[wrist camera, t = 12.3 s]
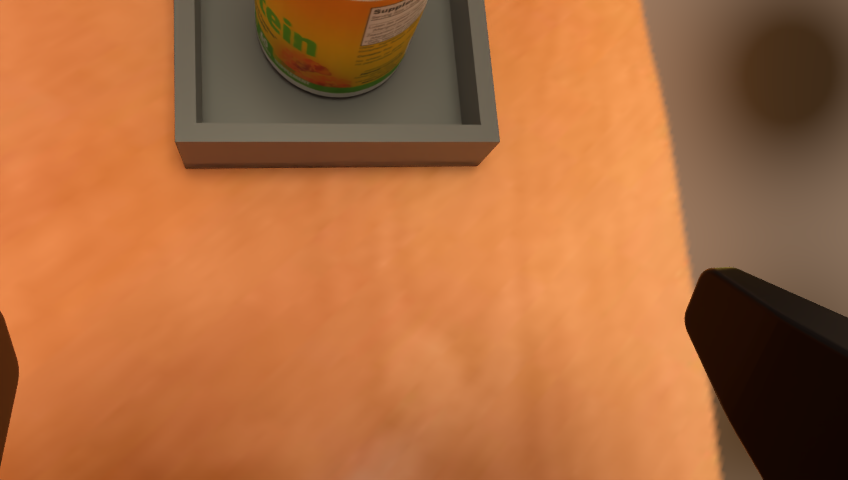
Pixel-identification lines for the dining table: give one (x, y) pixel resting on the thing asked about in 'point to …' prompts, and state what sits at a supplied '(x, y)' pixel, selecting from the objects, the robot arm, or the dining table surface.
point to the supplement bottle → (336, 41)
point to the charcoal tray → (331, 116)
